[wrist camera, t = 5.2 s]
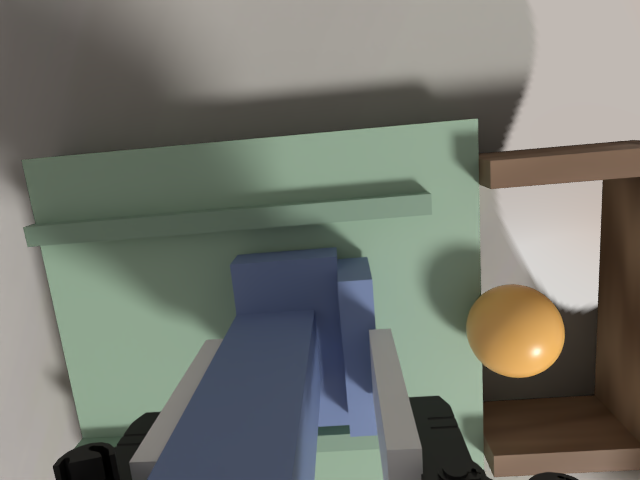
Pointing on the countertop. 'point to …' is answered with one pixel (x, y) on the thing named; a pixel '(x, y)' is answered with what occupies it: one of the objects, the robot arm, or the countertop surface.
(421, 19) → the countertop surface
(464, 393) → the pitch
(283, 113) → the countertop surface
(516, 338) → the ball
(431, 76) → the countertop surface
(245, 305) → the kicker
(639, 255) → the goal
